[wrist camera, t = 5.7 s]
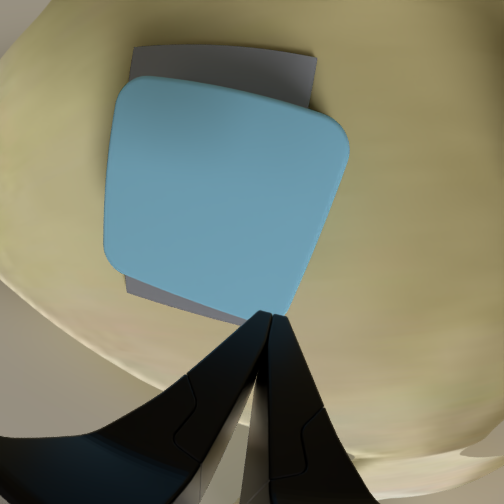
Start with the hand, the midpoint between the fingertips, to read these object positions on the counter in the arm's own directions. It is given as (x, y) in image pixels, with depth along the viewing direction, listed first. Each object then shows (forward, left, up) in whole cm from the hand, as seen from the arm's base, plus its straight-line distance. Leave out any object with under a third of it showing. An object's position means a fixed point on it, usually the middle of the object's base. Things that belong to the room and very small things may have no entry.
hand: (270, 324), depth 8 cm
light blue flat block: (-2, 0, -9) cm, 9 cm away
